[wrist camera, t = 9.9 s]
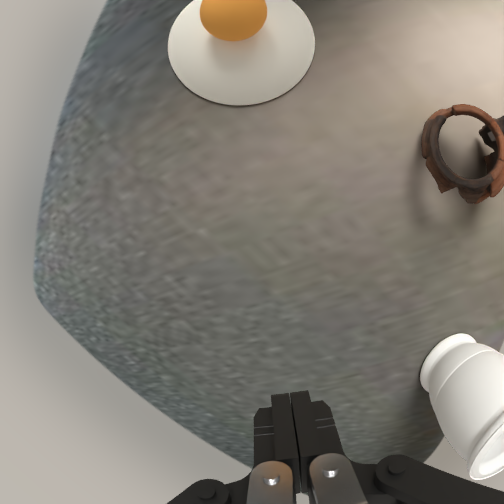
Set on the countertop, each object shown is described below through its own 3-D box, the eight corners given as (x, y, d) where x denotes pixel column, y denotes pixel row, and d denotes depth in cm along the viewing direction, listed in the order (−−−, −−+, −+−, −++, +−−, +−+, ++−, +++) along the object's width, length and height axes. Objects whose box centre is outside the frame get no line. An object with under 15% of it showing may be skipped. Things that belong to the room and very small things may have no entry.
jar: (396, 394, 32) (448, 488, 17) (437, 316, 29) (522, 393, 15) (455, 399, 32) (510, 472, 18) (493, 331, 30) (568, 392, 15)
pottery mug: (456, 227, 28) (469, 223, 21) (401, 156, 30) (395, 132, 23) (527, 159, 23) (553, 138, 16) (471, 94, 25) (481, 57, 18)
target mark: (152, 14, 23) (151, 13, 22) (281, -27, 22) (281, -28, 21) (195, 128, 25) (195, 127, 25) (337, 80, 24) (337, 79, 24)
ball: (190, 29, 19) (200, 46, 24) (265, 33, 19) (262, 50, 24) (200, -29, 17) (208, -4, 22) (272, -25, 17) (268, -1, 22)
